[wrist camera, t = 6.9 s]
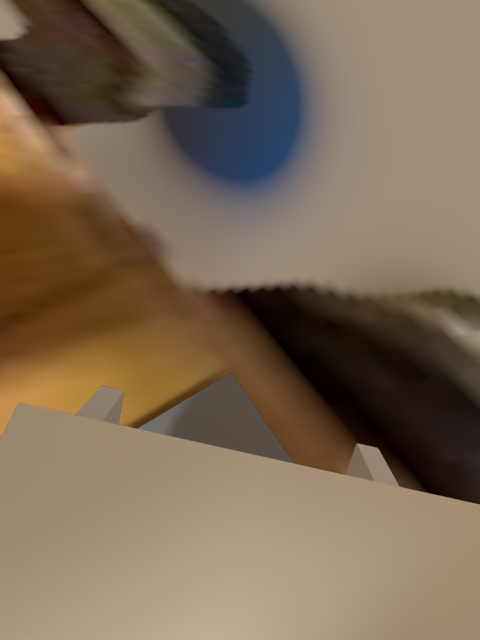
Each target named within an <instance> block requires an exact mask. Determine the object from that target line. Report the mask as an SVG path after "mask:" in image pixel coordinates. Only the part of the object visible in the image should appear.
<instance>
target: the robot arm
mask: <svg viewBox="0 0 480 640" xmlns="http://www.w3.org/2000/svg"><path fill="white" fill-rule="evenodd" d="M123 395H124V391H122V390H117V389H113V388H108V387H104V386H101V387H100V389H99V390H98V391H97V392H96V393H95V394H94V395H93V396H92V397H91V399H90V400H89V401H88V402H87V403H86V404H85V405H84V406H83V408H82V409H81V410H80V411H79V412H78V413H77V414H76V415H77V416H82V417H86V418H91V419H95V420H100V421H104V422H109V423H113V424H118V425H119V419H120V413H121V407H122V401H123ZM345 475H348V476H353V477H357V478H362V479H366V480H371V481H375V482H380V483H384V484H389V485H393V486H398V487H399V485H398V483H397V481H396V479H395V478H394V476H393V474H392V472H391V470H390V469H389V467H388V465H387V463H386V462H385V460H384V458H383V456H382V454H381V453H380V451H379V449H378V448H376V447H371V446H367V445H362V444H358V443H357V444H356V446H355V449H354V452H353V455H352V457H351V460H350V463H349V466H348V468H347V471H346V474H345Z"/></svg>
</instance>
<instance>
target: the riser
mask: <svg viewBox="0 0 480 640" xmlns="http://www.w3.org/2000/svg"><path fill="white" fill-rule="evenodd" d="M137 429H140V430H145V431H149V432H154V433H158V434H163V435H167V436H172V437H176V438H181V439H185V440H190V441H194V442H199V443H203V444H208V445H213V446H217V447H222V448H226V449H231V450H235V451H240V452H244V453H249V454H253V455H258V456H262V457H267V458H271V459H276V460H280V461H285V462H289V463H294V462H293V461H292V459H291V458H290V456H289V455H288V454H287V452H286V451H285V449H284V448H283V446H282V445H281V444H280V442H279V441H278V439H277V438H276V436H275V435H274V433H273V432H272V431H271V429H270V428H269V426H268V425H267V423H266V422H265V421H264V419H263V418H262V416H261V415H260V413H259V412H258V411H257V409H256V408H255V406H254V405H253V403H252V402H251V400H250V399H249V398H248V396H247V395H246V393H245V392H244V390H243V389H242V388H241V386H240V385H239V383H238V382H237V380H236V379H235V378H234V376H233V375H232V373H230V374H228V375H227V376H225V377H223V378H222V379H220V380H218V381H217V382H215V383H213V384H211V385H210V386H208V387H206V388H205V389H203V390H201V391H200V392H198V393H196V394H195V395H193V396H191V397H190V398H188V399H186V400H185V401H183V402H181V403H179V404H178V405H176V406H174V407H173V408H171V409H169V410H168V411H166V412H164V413H163V414H161V415H159V416H158V417H156V418H154V419H153V420H151V421H149V422H147V423H146V424H144V425H142V426H141V427H139V428H137Z"/></svg>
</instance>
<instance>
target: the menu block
mask: <svg viewBox="0 0 480 640" xmlns="http://www.w3.org/2000/svg"><path fill="white" fill-rule="evenodd" d="M0 640H480V505H479V504H475V503H470V502H466V501H461V500H456V499H452V498H447V497H443V496H438V495H434V494H429V493H425V492H420V491H416V490H411V489H407V488H402V487H398V486H393V485H389V484H384V483H380V482H375V481H371V480H366V479H362V478H357V477H353V476H348V475H344V474H339V473H335V472H330V471H325V470H321V469H316V468H312V467H307V466H303V465H298V464H294V463H289V462H285V461H280V460H276V459H271V458H267V457H262V456H258V455H253V454H249V453H244V452H240V451H235V450H231V449H226V448H222V447H217V446H213V445H208V444H203V443H199V442H194V441H190V440H185V439H181V438H176V437H172V436H167V435H163V434H158V433H154V432H149V431H145V430H140V429H136V428H131V427H127V426H122V425H118V424H113V423H109V422H104V421H100V420H95V419H91V418H86V417H82V416H77V415H72V414H68V413H63V412H59V411H54V410H50V409H45V408H41V407H36V406H32V405H27V404H23V403H18V404H17V406H16V408H15V410H14V412H13V414H12V416H11V418H10V420H9V422H8V424H7V426H6V428H5V430H4V432H3V434H2V436H1V438H0Z"/></svg>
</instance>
